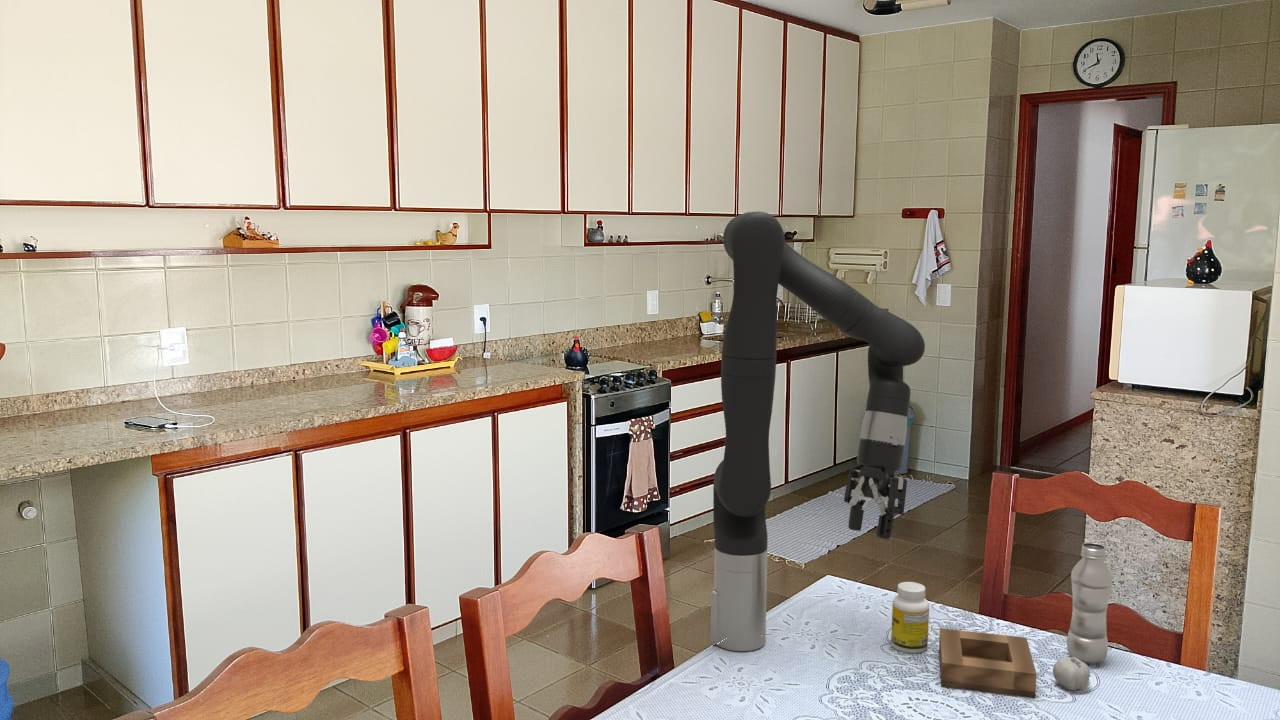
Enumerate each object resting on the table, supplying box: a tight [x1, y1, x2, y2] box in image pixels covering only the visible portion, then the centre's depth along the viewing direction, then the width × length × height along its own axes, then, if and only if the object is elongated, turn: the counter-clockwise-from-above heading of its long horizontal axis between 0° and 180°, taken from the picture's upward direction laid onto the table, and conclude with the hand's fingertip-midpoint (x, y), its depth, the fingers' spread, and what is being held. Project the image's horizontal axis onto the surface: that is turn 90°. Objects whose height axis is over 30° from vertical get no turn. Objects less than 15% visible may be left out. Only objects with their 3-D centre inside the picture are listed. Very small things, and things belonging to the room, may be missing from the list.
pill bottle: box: [890, 581, 930, 654], centre depth 167 cm, size 6×6×11 cm
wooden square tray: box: [938, 627, 1037, 699], centre depth 157 cm, size 14×14×4 cm
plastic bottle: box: [1065, 542, 1113, 665], centre depth 161 cm, size 6×7×20 cm
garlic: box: [1052, 656, 1091, 691], centre depth 153 cm, size 6×5×5 cm
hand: (868, 534), depth 163 cm, fingers open, 8 cm apart
